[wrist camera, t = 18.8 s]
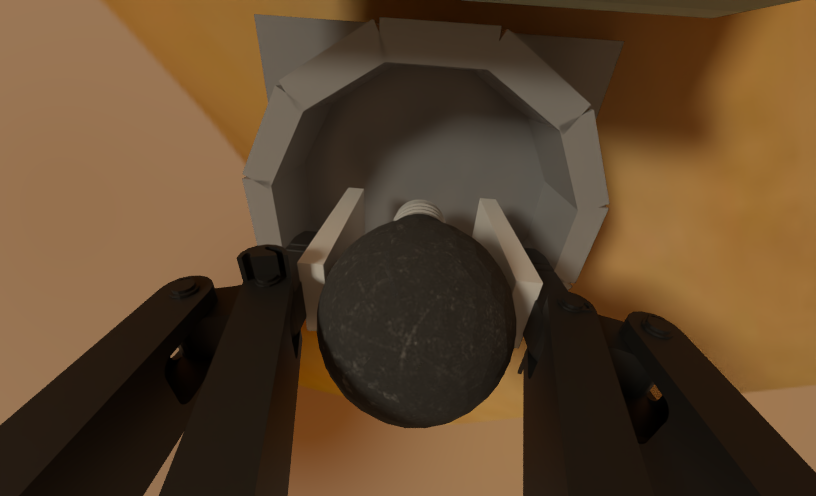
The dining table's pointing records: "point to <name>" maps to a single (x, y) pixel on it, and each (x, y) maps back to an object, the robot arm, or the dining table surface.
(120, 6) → the dining table surface
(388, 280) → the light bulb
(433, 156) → the holder
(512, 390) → the dining table surface
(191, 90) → the dining table surface
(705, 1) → the pale green square board
